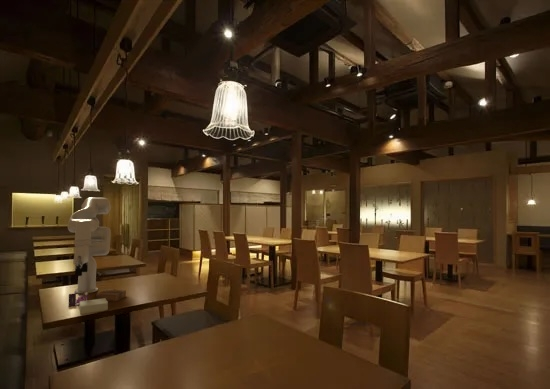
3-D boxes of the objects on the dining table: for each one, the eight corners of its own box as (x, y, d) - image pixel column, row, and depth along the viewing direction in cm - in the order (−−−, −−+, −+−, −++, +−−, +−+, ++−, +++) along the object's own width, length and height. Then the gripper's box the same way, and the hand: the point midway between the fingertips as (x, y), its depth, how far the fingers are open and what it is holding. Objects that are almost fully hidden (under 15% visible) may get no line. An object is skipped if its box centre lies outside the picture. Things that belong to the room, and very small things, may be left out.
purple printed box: (68, 294, 164) (88, 291, 170) (67, 295, 168) (87, 292, 174) (68, 307, 162) (88, 304, 168) (67, 308, 166) (87, 305, 172)
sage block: (79, 309, 161) (79, 301, 162) (105, 305, 168) (105, 298, 168) (80, 314, 153) (80, 306, 153) (107, 310, 160) (107, 302, 160)
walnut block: (106, 296, 186) (106, 289, 186) (125, 297, 185) (125, 290, 185) (95, 301, 176) (95, 294, 176) (115, 302, 175) (115, 295, 175)
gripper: (80, 241, 178) (78, 270, 177) (69, 244, 161) (67, 277, 160) (94, 240, 180) (93, 270, 179) (85, 244, 163) (84, 277, 163)
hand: (81, 273), depth 170 cm, fingers open, 9 cm apart
